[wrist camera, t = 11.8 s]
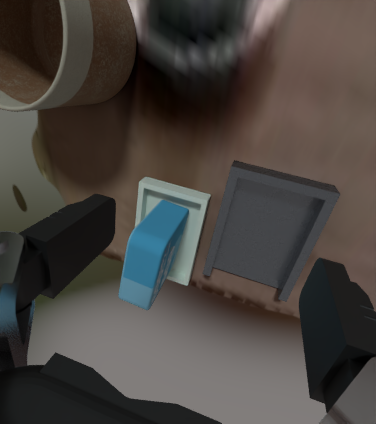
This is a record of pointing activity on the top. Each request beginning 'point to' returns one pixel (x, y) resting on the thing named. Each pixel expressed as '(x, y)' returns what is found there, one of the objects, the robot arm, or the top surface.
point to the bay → (268, 225)
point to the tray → (197, 205)
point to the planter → (64, 52)
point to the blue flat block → (152, 253)
